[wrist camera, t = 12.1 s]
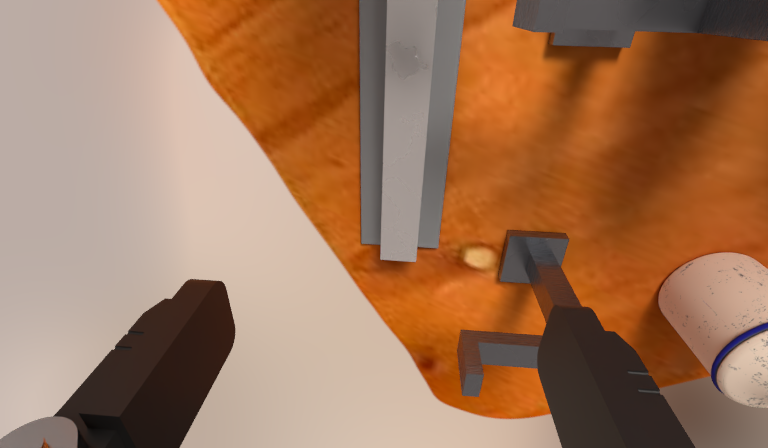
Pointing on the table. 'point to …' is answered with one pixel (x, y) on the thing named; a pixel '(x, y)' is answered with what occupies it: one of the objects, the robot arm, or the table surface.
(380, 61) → the rubber mat
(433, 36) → the aluminium rail
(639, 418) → the robot arm
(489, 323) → the table surface
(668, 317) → the teacup with lid
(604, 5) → the rail stand
